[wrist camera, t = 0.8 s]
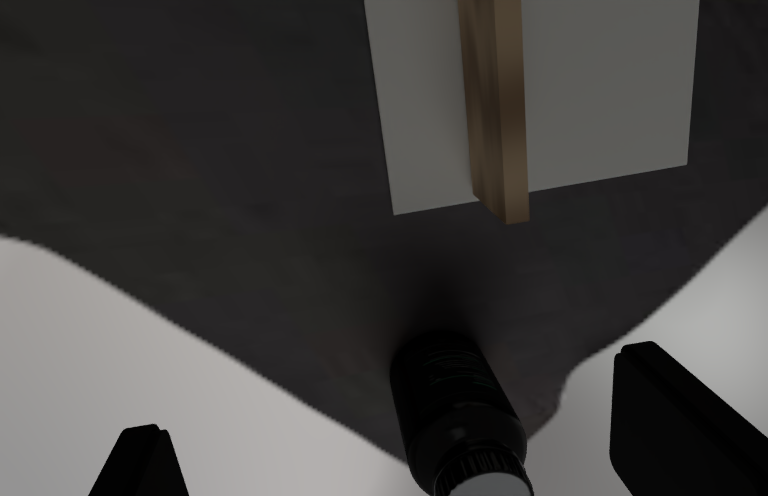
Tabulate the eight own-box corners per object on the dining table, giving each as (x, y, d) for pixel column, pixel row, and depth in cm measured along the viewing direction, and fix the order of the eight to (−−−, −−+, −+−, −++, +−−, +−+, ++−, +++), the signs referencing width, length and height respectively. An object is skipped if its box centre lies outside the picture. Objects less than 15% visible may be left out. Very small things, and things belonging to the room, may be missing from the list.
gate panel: (455, -21, 27) (491, -39, 22) (478, -24, 28) (519, -43, 22) (472, 194, 32) (506, 224, 26) (492, 190, 32) (529, 220, 26)
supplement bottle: (464, 416, 39) (524, 564, 28) (376, 400, 37) (402, 550, 26) (497, 337, 37) (576, 463, 26) (405, 318, 35) (447, 442, 24)
